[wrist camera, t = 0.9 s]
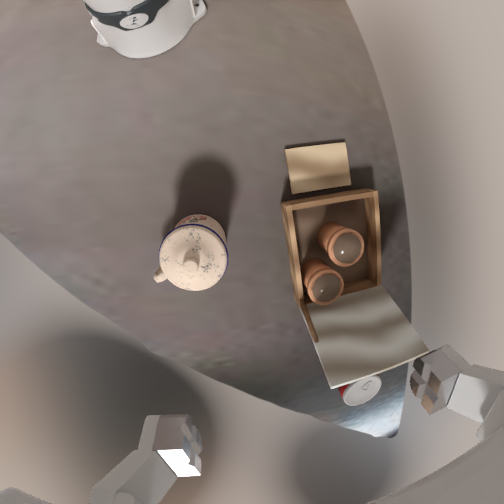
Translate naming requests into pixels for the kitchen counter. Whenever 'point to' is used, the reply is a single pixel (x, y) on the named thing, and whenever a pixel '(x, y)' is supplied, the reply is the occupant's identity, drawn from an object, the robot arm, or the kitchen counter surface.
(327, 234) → the pot near
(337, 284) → the pot far
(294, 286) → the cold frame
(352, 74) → the kitchen counter surface
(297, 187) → the cork mat
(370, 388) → the canned food
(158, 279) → the teacup with lid
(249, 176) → the kitchen counter surface
